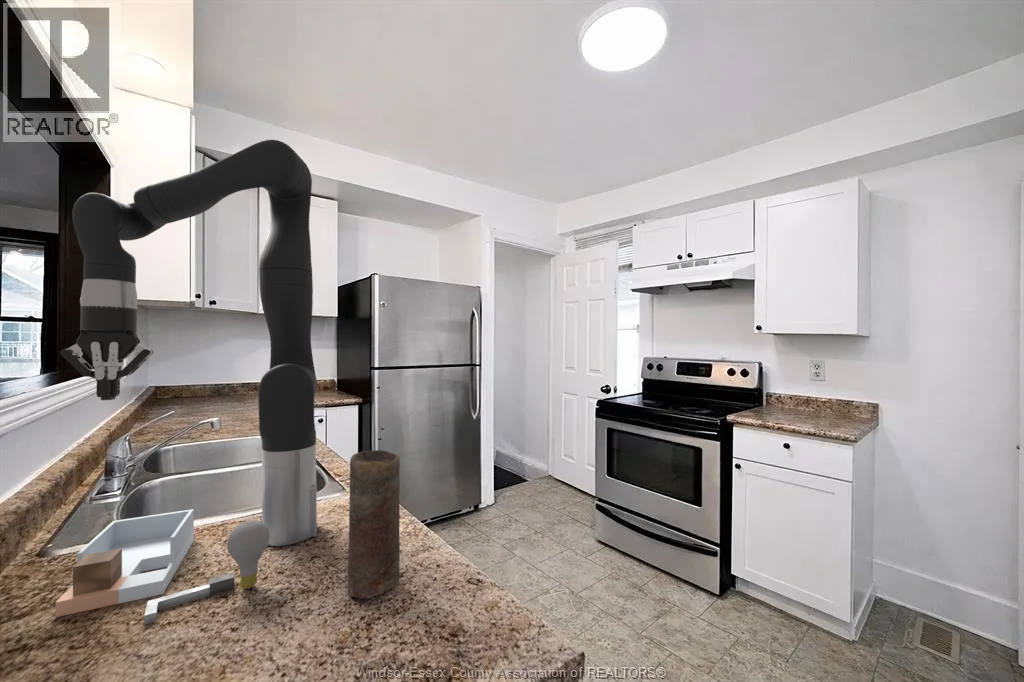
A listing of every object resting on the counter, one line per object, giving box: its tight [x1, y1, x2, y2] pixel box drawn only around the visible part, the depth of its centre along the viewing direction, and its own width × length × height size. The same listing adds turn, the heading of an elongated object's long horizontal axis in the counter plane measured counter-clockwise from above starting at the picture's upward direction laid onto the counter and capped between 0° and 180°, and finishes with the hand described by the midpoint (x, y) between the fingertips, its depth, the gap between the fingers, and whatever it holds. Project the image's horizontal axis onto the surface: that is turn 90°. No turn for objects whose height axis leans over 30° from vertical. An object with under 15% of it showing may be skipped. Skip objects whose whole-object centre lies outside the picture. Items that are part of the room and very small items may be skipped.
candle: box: [347, 449, 401, 600], centre depth 63 cm, size 8×7×20 cm
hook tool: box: [143, 572, 235, 626], centre depth 60 cm, size 10×4×2 cm, turn 126°
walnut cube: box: [72, 548, 122, 596], centre depth 61 cm, size 4×4×4 cm
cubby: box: [54, 508, 195, 618], centre depth 68 cm, size 12×19×6 cm, turn 26°
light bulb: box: [226, 519, 270, 590], centre depth 63 cm, size 5×6×10 cm
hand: (108, 399), depth 77 cm, fingers closed
